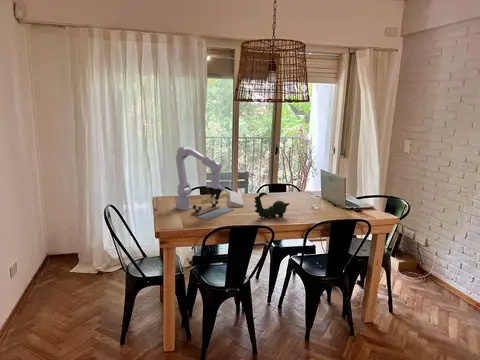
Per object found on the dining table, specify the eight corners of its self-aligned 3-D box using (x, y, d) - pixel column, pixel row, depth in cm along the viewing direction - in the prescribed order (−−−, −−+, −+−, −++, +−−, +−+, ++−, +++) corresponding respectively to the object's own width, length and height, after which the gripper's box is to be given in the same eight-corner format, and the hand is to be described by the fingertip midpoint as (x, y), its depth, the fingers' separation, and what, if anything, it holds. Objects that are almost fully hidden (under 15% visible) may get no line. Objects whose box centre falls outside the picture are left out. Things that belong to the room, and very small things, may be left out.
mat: (197, 217, 233) (197, 216, 233) (223, 207, 258) (223, 206, 258) (207, 220, 228) (207, 219, 228) (233, 209, 253) (233, 209, 253)
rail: (201, 203, 232) (201, 199, 231) (224, 195, 253) (224, 191, 253) (205, 204, 230) (205, 199, 229) (227, 196, 252) (227, 192, 251)
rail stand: (191, 214, 239) (191, 205, 238) (212, 206, 259) (212, 198, 258) (198, 216, 236) (198, 207, 235) (219, 208, 256) (219, 200, 255)
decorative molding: (239, 199, 295) (228, 195, 294) (241, 193, 294) (229, 190, 293) (241, 211, 262) (228, 207, 261) (243, 204, 261) (230, 201, 260)
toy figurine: (258, 223, 232) (293, 217, 239) (257, 195, 227) (292, 190, 235) (253, 218, 240) (286, 213, 248) (252, 191, 236) (286, 186, 244)
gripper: (227, 180, 238) (227, 199, 241) (210, 177, 246) (210, 196, 249) (221, 181, 232) (221, 201, 235) (204, 178, 240) (203, 198, 243)
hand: (215, 199), depth 242 cm, fingers closed on rail, 3 cm apart
